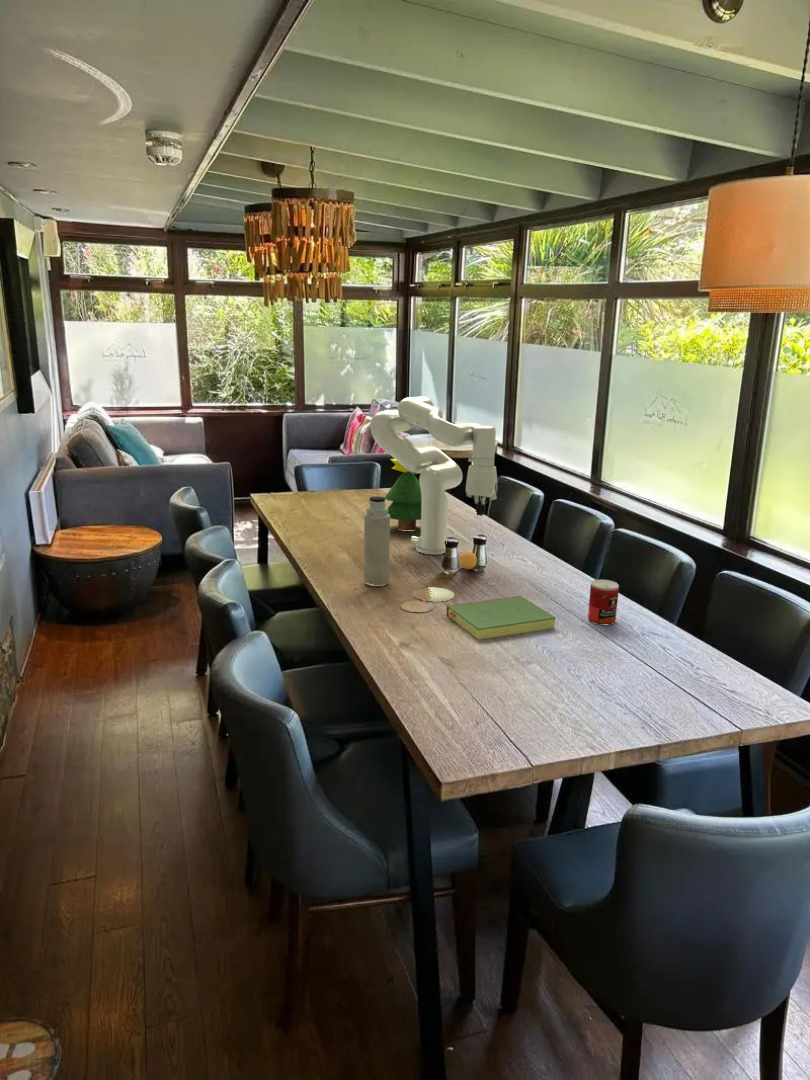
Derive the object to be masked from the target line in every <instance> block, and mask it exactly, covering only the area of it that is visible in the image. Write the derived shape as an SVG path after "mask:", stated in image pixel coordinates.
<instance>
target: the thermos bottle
mask: <svg viewBox="0 0 810 1080" xmlns="http://www.w3.org/2000/svg"><path fill="white" fill-rule="evenodd" d="M363 519H364V521H363V522H364V524H363V527H364V528H363V529H364V533H363V534H364V535H363V538H364V541H363V542H364V543H363V548H364V549H363V583H364V582H366V583H369V584H373V585H383V584H387V583H388V582H389V583H390V542H391V540H390V539H391V536H390V535H391V530H390V529H391V518H390V515H389V514H388V507H387V506H386V499H385V496H379V495H374V496H370V497H369V506H367V507H366V513H365V514H364V518H363Z"/></svg>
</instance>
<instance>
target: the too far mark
mask: <svg viewBox="0 0 810 1080" xmlns="http://www.w3.org/2000/svg"><path fill="white" fill-rule="evenodd" d="M429 603H430V602H429ZM429 603H428V604H429ZM426 609H427V608H426ZM434 609H435V605H434V604H433V603H431V605H429V611H430V612H432V611H433V610H434ZM431 610H432V611H431Z"/></svg>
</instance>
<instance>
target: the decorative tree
mask: <svg viewBox="0 0 810 1080" xmlns="http://www.w3.org/2000/svg"><path fill="white" fill-rule="evenodd" d="M389 460H390V461H392V463H394V466H393V467H391V469H393V470H395V471H399V472H402V473H401V474H400V476H399V477H398V478H397V479H396V480H395V483H394V484H393V485H392V487H391V488H390V489H389V491H388V492H387V493H386V495H385V496H384V497H385V500H387V501H390V502H391V503H390V504H389V506H388V507H387V508H388V514H389V515H390V520H391V519H392V520H396V521H397V529H398V528H399V529H401V530H415V529H416V530H417V521H421V503H422V499H421V488H420V480H419V479H418V478H417V477H416V474H414V473H411V472H409V471H408V470H407V469H406V468H405V467H404V466H402V465H401V464H400V463H399V462H398V461H397V460H396V459H395V458H390V459H389ZM416 530H415V531H416Z"/></svg>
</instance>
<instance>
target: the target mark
mask: <svg viewBox="0 0 810 1080" xmlns="http://www.w3.org/2000/svg"><path fill="white" fill-rule="evenodd" d="M428 589H430V590H429V591H431V592H430V593H429V594H431V593H432V594H431V595H430V596H431V597H432V598H430V599H431V600H432V601H433V602H432V603H442V602H441V601H444V602H448V601H451V600H453V599H454V598H455V593H454V592H453V591H451V590H450V589H448V588H442V587H436V586H435V587H433V586H431V587H430V586H429V587H428ZM429 591H428V592H429ZM433 594H434V595H433ZM433 596H434V597H433ZM452 598H453V599H452ZM450 599H451V600H450ZM431 600H430V601H431ZM447 600H448V601H447Z"/></svg>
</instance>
